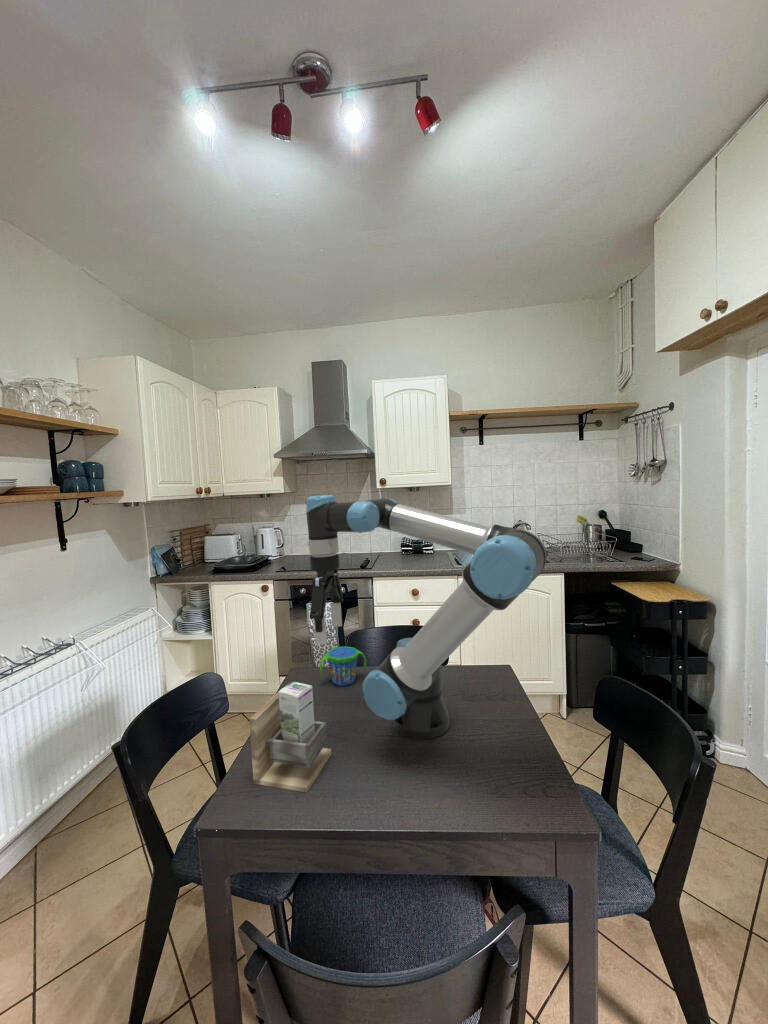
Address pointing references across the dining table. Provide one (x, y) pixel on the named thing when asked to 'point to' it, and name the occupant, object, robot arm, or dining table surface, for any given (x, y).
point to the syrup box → (297, 712)
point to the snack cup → (342, 664)
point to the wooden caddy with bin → (284, 751)
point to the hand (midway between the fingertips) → (329, 634)
